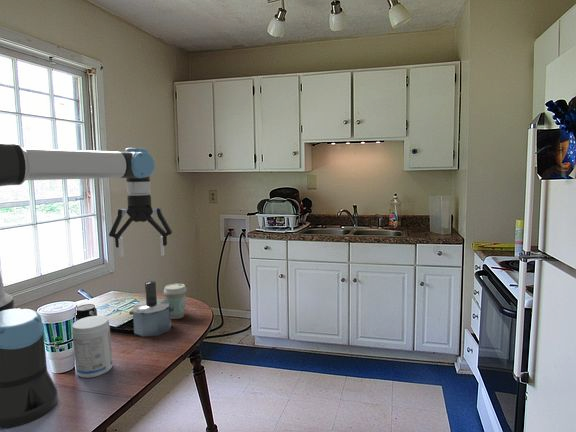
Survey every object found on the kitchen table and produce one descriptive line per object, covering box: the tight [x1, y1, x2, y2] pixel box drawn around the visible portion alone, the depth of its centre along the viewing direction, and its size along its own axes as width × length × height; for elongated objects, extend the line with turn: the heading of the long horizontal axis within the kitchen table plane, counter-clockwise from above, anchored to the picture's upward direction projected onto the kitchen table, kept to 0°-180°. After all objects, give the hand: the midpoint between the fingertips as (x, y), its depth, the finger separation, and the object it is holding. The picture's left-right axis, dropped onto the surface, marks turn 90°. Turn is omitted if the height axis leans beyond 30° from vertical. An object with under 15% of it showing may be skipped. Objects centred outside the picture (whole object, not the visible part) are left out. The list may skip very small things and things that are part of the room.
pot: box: [129, 304, 174, 338], centre depth 143 cm, size 12×15×8 cm
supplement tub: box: [71, 315, 114, 379], centre depth 114 cm, size 10×10×15 cm
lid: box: [133, 280, 169, 314], centre depth 142 cm, size 12×12×9 cm
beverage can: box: [76, 303, 98, 321], centre depth 134 cm, size 7×7×12 cm
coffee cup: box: [163, 283, 187, 320], centre depth 155 cm, size 8×9×12 cm
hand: (142, 255), depth 139 cm, fingers open, 13 cm apart
